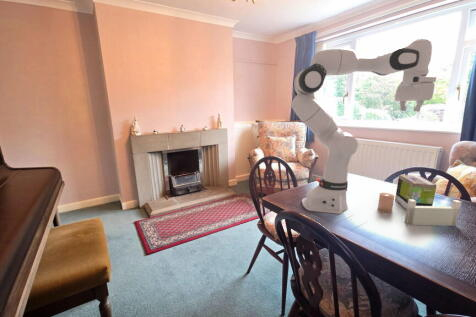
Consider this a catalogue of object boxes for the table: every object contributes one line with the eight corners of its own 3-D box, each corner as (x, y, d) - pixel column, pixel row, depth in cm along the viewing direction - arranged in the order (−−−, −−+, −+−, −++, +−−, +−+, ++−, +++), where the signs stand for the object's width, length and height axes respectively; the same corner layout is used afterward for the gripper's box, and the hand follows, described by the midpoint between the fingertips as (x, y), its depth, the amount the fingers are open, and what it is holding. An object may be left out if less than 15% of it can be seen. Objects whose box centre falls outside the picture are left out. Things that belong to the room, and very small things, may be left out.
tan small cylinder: (381, 212, 110) (383, 197, 108) (375, 207, 116) (377, 192, 114) (394, 213, 110) (397, 197, 108) (387, 207, 116) (389, 192, 114)
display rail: (407, 224, 99) (411, 201, 97) (404, 222, 101) (408, 199, 99) (456, 225, 98) (461, 202, 95) (452, 223, 100) (457, 200, 97)
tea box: (431, 213, 109) (437, 184, 105) (408, 212, 111) (413, 183, 107) (414, 201, 123) (419, 174, 119) (394, 199, 125) (398, 174, 121)
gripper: (393, 81, 112) (389, 110, 115) (423, 77, 92) (417, 111, 96) (406, 81, 112) (402, 110, 115) (439, 76, 92) (433, 111, 95)
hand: (409, 111), depth 105 cm, fingers open, 8 cm apart
